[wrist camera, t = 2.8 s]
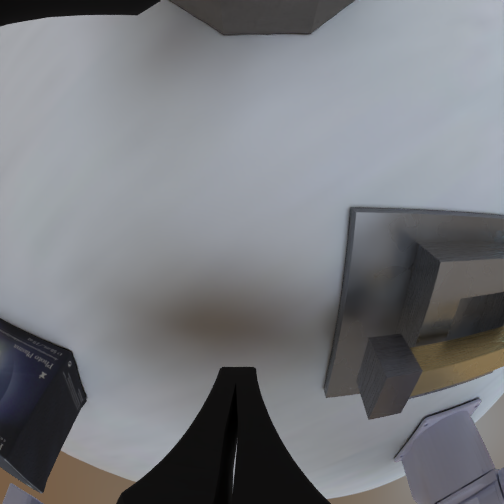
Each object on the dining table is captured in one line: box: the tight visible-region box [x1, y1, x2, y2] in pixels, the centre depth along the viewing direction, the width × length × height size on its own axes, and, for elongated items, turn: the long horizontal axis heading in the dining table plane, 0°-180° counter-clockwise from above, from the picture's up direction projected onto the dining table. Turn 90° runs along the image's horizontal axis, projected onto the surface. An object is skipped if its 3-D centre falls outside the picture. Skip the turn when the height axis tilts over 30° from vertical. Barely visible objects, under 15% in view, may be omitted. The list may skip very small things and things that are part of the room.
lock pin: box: [356, 326, 504, 420], centre depth 10 cm, size 3×16×2 cm, turn 92°
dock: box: [324, 207, 504, 399], centre depth 12 cm, size 12×16×6 cm
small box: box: [0, 319, 87, 493], centre depth 12 cm, size 11×6×10 cm, turn 79°
